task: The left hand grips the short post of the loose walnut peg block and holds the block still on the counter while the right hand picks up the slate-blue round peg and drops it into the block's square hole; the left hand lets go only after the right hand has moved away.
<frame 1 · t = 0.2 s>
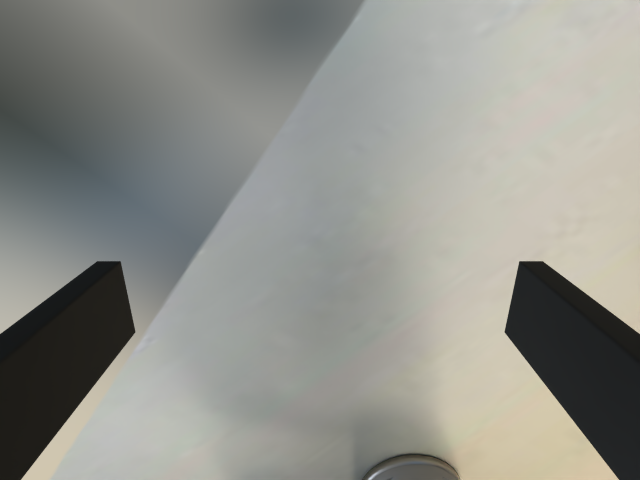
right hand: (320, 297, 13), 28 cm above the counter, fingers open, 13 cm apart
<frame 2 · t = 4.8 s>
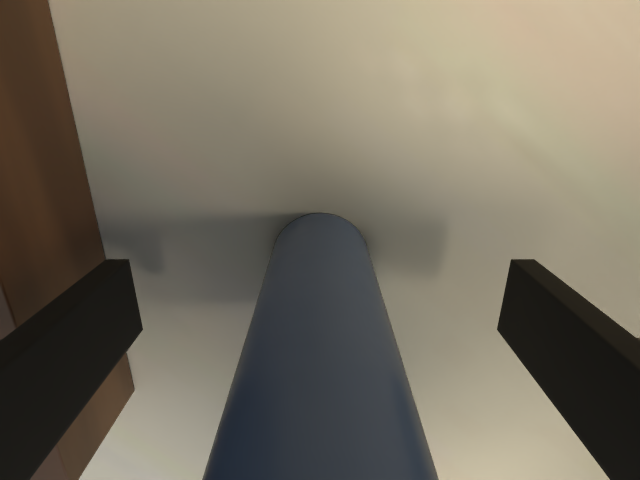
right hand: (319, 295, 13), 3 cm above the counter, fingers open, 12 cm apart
peg: (320, 258, 16), on the counter
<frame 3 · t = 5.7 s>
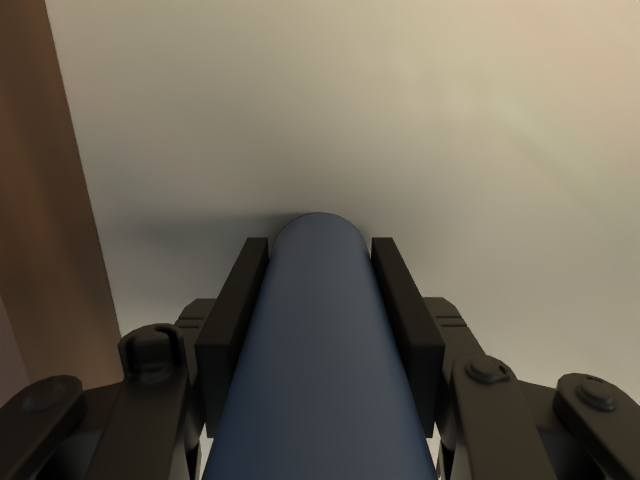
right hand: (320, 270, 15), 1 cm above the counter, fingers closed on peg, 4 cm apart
peg: (319, 258, 16), on the counter, touching right hand
when the right hand's fingers open (7 cm above the counter, at t = 11.0 s): peg drops 5 cm, on the counter.
when the left hand's fingers open (3 cm above the counter, at t = 15.1 s): peg block stays where it is, on the counter.
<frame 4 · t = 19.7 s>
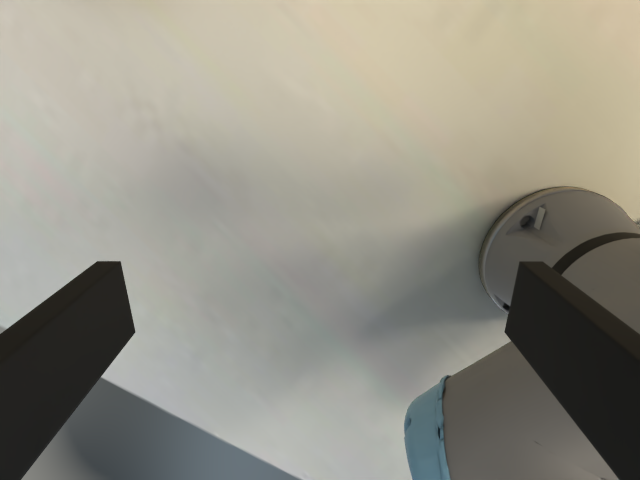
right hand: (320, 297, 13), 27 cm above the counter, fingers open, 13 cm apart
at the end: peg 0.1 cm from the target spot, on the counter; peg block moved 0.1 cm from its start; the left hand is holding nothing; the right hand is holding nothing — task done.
